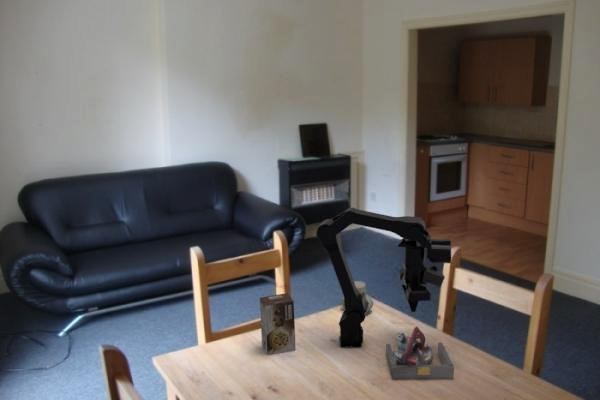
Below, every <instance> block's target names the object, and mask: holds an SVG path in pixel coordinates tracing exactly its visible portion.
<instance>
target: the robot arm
mask: <svg viewBox="0 0 600 400" xmlns="http://www.w3.org/2000/svg"><path fill="white" fill-rule="evenodd" d="M352 224H353V225H358V226H362V227H367V228H372V229H378V230H382V231H386V232H390V233H393V234H396V235H397V236H399V237H400V238H401V239H400V240H398V242H397V247H398V248H404V251H403V252H404V254H403V255H404V259H403V262H402V266H403V268H401V269H400V270H399V271H398V276H397V277H398V280H399V281H403V282H404V284H402V285H401V288H402V290H403V292H404V295H405V299H406V301H407V303H408V306H409V308H410V311H411V312H412V313H415V312H416V310H417V308H418V304H419V302H423V301H424V302H425V301H426V302H428V301H432V293H431V291H430V290H429V288H428V287H427V286H425V285H427V284H428V283H429V284H432V285H434V286H436V287H439V288H441V287H442V285H443V283H444V280H445V278H446V277H445V275H444V273H443V272H442V271H441V270H438V266H437V265H436V264H451V263H452V241H451V239H450V238H449V239H448V238H443V239H440V238H439V239H438V238H432V235H431V234H430V233H429V231H428V230H427V229H426V223H425V221H424V219H422V218H421V217H419V216H409V215H407V216H392V215H387V214H381V213H377V212H371V211H366V210H363V209H358V208H355V207H349V208H347V209H346V210H344V211H343V212H341V213H340V214H337V215H336V216H334V217H333V218H327V219H324V220H323V221H322V222H321V223H320V225H319V226H318V227H317V229H316V233H315V234H316V237H317V240H318V241H319V243H320V245H321V246H322V248H323V250H325V251H326V253H327V254H328V256H329V258H330V261H331V264H332V267H333V270H334V272H335V276H336V278H337V282H338V283H339V287H340V288H341V292H342V294H343V297H344V305H345V309H344V310H343V311H342V314H341V317H340V320H339V322H338V326H339V346H340V348H362V347H363V342H364V328H363V326H362V323H364V321H365V319H366V317H367V313H368V312H367V310H368V305H369V302H368V301H367V300H366V296H365V292H363V293H361V294H360V292H359V291H358V290H357V289H356V286H355V283H354V281H355V280H354V278H353V275H352V272H351V270H350V267H349V264H348V261H347V259H346V256H345V253H344V249H343V247H342V236H341V235H342V234H341V232H342V231H344V230H346V229H347V228H348V227H349V226H351V225H352ZM425 249H427V250H426V251H425ZM425 252H426V253H425ZM425 254H426V257H425ZM425 259H427V260H428V261H429V262H430V263H431V264H430V265H428V266H426V265H425ZM433 263H435V264H433Z"/></svg>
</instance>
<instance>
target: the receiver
mask: <svg viewBox="0 0 600 400" xmlns="http://www.w3.org/2000/svg"><path fill="white" fill-rule="evenodd" d="M393 353H394V351H393V349H392V345H391V343H385V356H386V360H387V365H388V368H389V371H390V375H391V379H392V380H441V379H442V380H451V379H452V380H453V379H454V374H455V367H454V364H453V362H452V360H451V358H450V356H449V353H448V351H447V350H446V347H445V345H444V344H443V343H442V342H438V343H437V356H438V358H439V359H440V362H441V364H428V365H402V364H400V365H399V364H398V365H397V363H396V358H395V357H394V355H393Z"/></svg>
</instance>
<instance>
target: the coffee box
mask: <svg viewBox="0 0 600 400" xmlns="http://www.w3.org/2000/svg"><path fill="white" fill-rule="evenodd" d="M259 306H260V307H259V309H260V329H261V332H260V333H261V346H262V349H263V351H264V353H265V354H266V356H272V355H277V354H281V353H282V354H283V353H286V352H287V353H288V352H292V351H296V348H297V347H296V327H295V301H294V299H293V298H292V297H291V296H290V294H289V293H287V292H286V293H281V294H275V295H269V296H268V295H267V296H262V297H259Z"/></svg>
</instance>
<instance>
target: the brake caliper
mask: <svg viewBox="0 0 600 400" xmlns="http://www.w3.org/2000/svg"><path fill="white" fill-rule="evenodd" d="M397 333H398V334H397V335H396V337H395V338H396V339H397V341H398V343H397V349H398V352H393V355H394V359H395V360H398V361H399V362H400V363H401V364H400V365H430V363H431V362H432V360H433V359H434V356H433V350H432V347H431V345H430V344H426V336H425V334H424V333H423V332H422V330H421V329H420V328H419V327H418V326H414V328H413V331H412V333H411V335H410V336H409V335H407V334H405V333H404V332H402V331H398V332H397ZM418 339H419V340H418ZM425 345H426V346H425Z"/></svg>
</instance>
